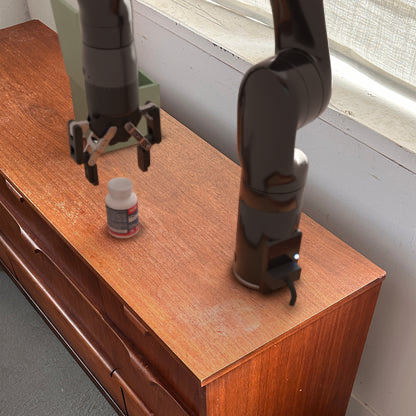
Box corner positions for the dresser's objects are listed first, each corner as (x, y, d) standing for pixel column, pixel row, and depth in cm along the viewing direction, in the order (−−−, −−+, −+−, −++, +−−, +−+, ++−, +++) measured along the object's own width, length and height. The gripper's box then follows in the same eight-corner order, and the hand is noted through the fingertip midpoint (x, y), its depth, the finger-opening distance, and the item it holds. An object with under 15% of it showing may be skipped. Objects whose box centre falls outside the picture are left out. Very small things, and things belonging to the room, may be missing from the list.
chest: (134, 113, 134) (131, 61, 126) (161, 137, 127) (159, 83, 119) (75, 128, 129) (68, 75, 121) (100, 154, 122) (94, 99, 114)
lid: (52, -10, 109) (47, -9, 109) (79, 12, 103) (75, 13, 103) (70, 72, 121) (66, 73, 120) (96, 96, 114) (92, 98, 114)
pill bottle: (134, 241, 104) (130, 195, 98) (104, 236, 105) (98, 190, 98) (143, 223, 108) (140, 177, 101) (114, 218, 109) (109, 172, 102)
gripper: (74, 95, 82) (87, 200, 95) (169, 73, 88) (169, 176, 100) (52, 72, 86) (67, 176, 99) (144, 52, 92) (147, 154, 104)
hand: (119, 176), depth 99 cm, fingers open, 8 cm apart
